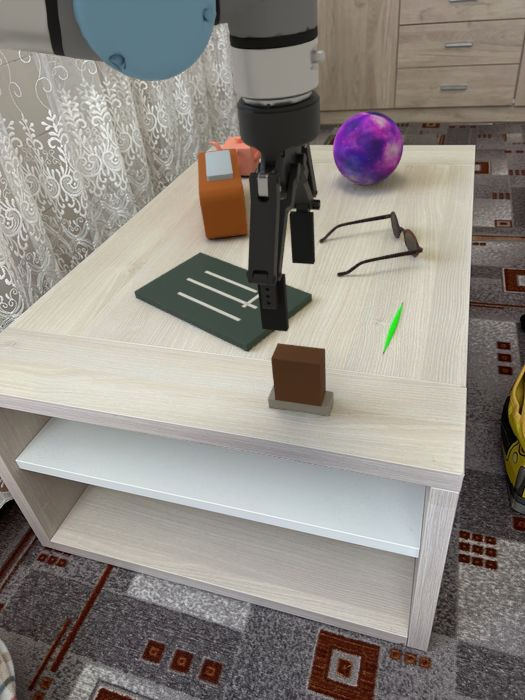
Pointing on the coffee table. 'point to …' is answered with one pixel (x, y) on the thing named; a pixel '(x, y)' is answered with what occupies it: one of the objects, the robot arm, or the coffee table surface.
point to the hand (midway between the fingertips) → (290, 292)
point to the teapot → (242, 154)
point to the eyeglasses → (408, 235)
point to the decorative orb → (368, 148)
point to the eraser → (300, 380)
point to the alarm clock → (221, 194)
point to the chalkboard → (215, 299)
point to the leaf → (393, 327)
